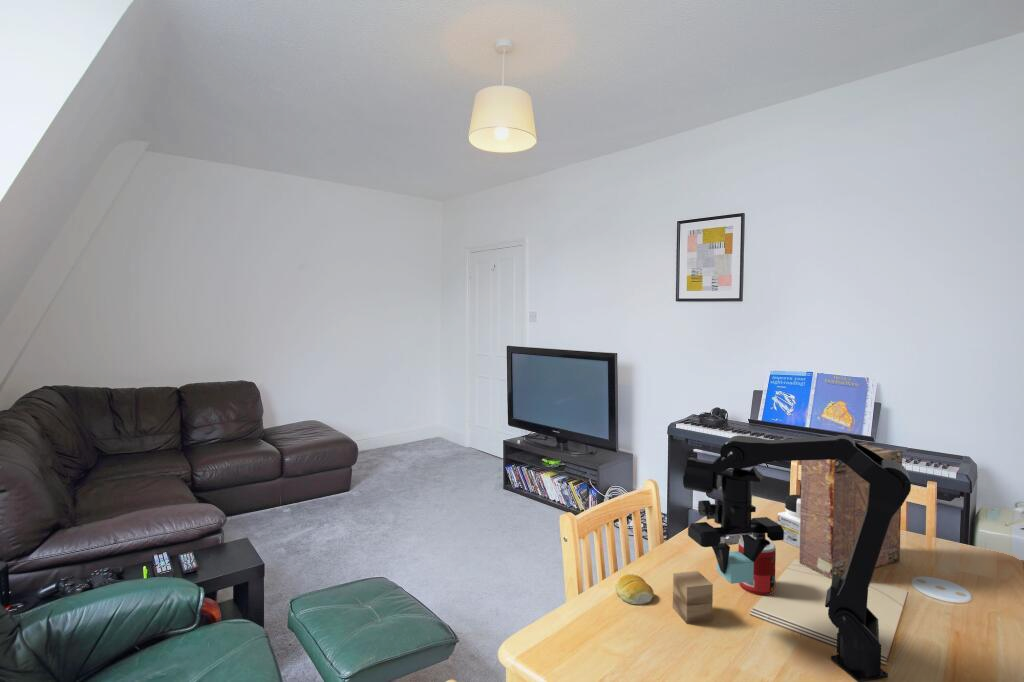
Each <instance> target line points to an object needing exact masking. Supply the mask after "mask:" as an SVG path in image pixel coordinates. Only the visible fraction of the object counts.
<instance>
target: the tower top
mask: <svg viewBox="0 0 1024 682" xmlns="http://www.w3.org/2000/svg"><path fill="white" fill-rule="evenodd" d="M672 575H673V576H672V581H673V583H672V592H673V591H674V592H675V593H676V594H677V595H678V597H679V598H680V599H681V600H682V601H683V602H684V603H685V604H686V605H687V606H688V605H696V604H705V603H712V604H713V601H714V599H713V597H714V594H713V593H714V590H713V588H714V586H713V585H714V584H713V583H712V582H710V581H709V580H708V578H707V577H705V575H703V574H702V573H700V571H698V570H695V571H694V570H693V571H684V572H676V573H675V572H674V573H673V574H672Z"/></svg>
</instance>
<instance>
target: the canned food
mask: <svg viewBox="0 0 1024 682" xmlns="http://www.w3.org/2000/svg"><path fill="white" fill-rule="evenodd" d="M766 540H768V541H769V542H770V545H767V546H766V547H765V548H764V549H763V551H762V552H761V553H760V554H759V556H758V557H757V559H756V560H755V562H754V570H753V581H752V582H743V583H738V584H739V587H741V589H743V590H744V591H746V592H748V593H751V594H754V595H757V596H767V595H766V594H769V595H771V594H773V593H774V592H775V588H776V559H777V558H776V557H777V556H776V553H777V551H776V544H775V543H774V541H771V540H770V539H767V538H766ZM738 551H739V552H740V553H742V554H743V555H744V541H743V538H742V537H740V538H739V540H738ZM773 591H774V592H773ZM772 592H773V593H772ZM770 593H771V594H770Z"/></svg>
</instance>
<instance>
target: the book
mask: <svg viewBox="0 0 1024 682" xmlns="http://www.w3.org/2000/svg"><path fill="white" fill-rule="evenodd" d="M858 443H859V442H858ZM859 444H860V445H862V446H864V447H866V448H868V449H869V450H871V451H873V452H875V453H876V454H878V455H879V456H881V457H882V458H884V459H885V460H886V459H888V460H894V461H896V462H898V463H900V464H901V465H902V466H903V450H901V449H896V450H891V449H887V448H882V447H878V446H873V445H870V443H869V442H868V441H867V442H860V443H859ZM800 461H801V466H800V467H801V469H800V474H801V475H800V495H801V513H800V548H799V563H800V564H801V563H802V565H803V564H804V566H805V565H806V566H805V567H807V568H809V567H810V568H809V569H811V568H812V570H813V569H814V570H813V571H815V570H816V571H815V572H817V571H818V572H817V573H819V572H820V573H819V574H821V573H822V574H821V575H823V574H824V575H823V576H825V575H826V576H825V577H827V576H828V577H827V578H829V579H831V580H832V575H833V574H835V575H836V576H838V577H840V578H841V577H842V575H843V574H844V573H845V572H846V570H847V567H848V563H849V560H850V557H851V554H852V551H853V548H854V545H855V542H856V539H857V535H858V532H859V529H860V526H861V523H862V520H863V517H864V514H865V511H866V507H867V501H868V487H869V483H868V482H867V481H865V480H864V479H863V478H861V477H860V476H859V475H858V474H857V473H855V472H854V471H853V470H852V469H851V468H850V467H848V466H847V465H846V464H845V463H843V462H842V461H841V460H839V459H828V460H800ZM901 513H902V506H901V507H900V509H899V510H898V511H897V512H896V513H895V515H894V516H893V517H892V519H891V521H890V524H889V527H888V530H887V533H886V536H885V539H884V542H883V545H882V548H881V551H880V554H879V557H878V560H877V563H876V566H875V569H877V568H881V567H885V566H889V565H893V564H897V563H900V558H901V557H900V555H901V550H900V549H901V524H902V523H901V521H902V519H901V518H902V517H901V516H902V515H901Z"/></svg>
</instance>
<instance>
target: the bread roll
mask: <svg viewBox="0 0 1024 682" xmlns="http://www.w3.org/2000/svg"><path fill="white" fill-rule="evenodd" d="M615 592H616V593H615V594H616V595H617V596H619V598H620V599H621V600H622V601H623V602H625V603H628V604H631V605H645V604H648V603H650V602H651V601H652V599H653V597H654V590H653V588H652V586H650V584H648V582H646V580H644V578H642V577H641V576H639V575H637V574H624V575H622V576H621V577H619V578H618V580H617V581H616V583H615Z"/></svg>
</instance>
